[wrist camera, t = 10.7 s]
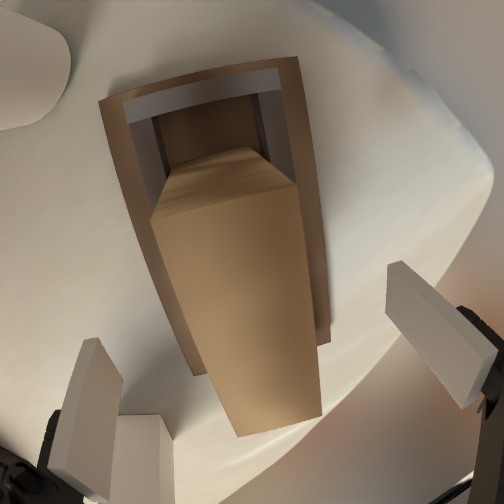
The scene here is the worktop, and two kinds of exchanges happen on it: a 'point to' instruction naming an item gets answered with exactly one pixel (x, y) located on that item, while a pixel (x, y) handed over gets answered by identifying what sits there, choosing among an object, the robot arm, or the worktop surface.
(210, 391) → the worktop surface
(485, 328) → the robot arm
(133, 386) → the worktop surface
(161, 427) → the milk
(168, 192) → the tan wooden block
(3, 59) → the can
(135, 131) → the wooden tray
